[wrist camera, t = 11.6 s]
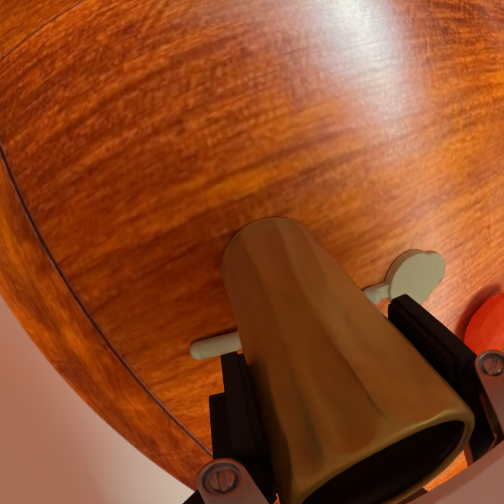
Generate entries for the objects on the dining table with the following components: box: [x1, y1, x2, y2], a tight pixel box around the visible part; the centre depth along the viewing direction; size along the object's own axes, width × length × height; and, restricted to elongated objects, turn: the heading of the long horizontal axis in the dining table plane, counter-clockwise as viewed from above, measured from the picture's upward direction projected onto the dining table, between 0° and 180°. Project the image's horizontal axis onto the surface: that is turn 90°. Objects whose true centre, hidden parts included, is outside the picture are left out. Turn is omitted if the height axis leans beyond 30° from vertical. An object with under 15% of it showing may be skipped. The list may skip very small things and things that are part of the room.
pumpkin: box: [464, 293, 504, 356], centre depth 21 cm, size 7×8×6 cm
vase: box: [221, 217, 475, 504], centre depth 12 cm, size 6×6×14 cm
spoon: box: [190, 250, 445, 360], centre depth 20 cm, size 19×4×1 cm, turn 104°
